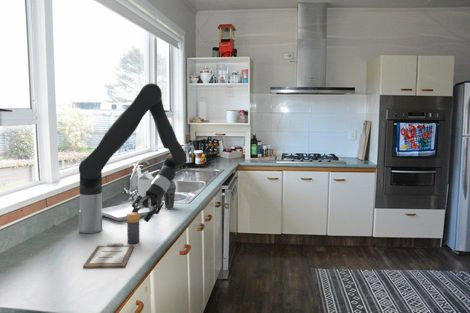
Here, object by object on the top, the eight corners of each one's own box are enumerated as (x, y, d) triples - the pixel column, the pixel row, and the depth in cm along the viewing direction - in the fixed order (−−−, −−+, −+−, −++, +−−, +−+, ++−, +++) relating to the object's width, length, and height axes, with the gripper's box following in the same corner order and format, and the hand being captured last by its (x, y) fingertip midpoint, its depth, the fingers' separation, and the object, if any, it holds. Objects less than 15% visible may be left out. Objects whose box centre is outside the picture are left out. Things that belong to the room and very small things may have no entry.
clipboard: (83, 268, 132) (82, 263, 132) (97, 247, 152) (97, 243, 152) (124, 267, 133) (124, 262, 133) (133, 247, 153) (133, 242, 153)
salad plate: (129, 208, 213) (129, 202, 213) (153, 216, 200) (153, 209, 200) (94, 216, 197) (94, 209, 196) (118, 224, 184) (118, 217, 183)
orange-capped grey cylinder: (126, 244, 156) (126, 215, 155) (128, 240, 161) (128, 212, 160) (138, 244, 157) (138, 215, 156) (140, 240, 162) (140, 212, 160)
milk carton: (153, 202, 227) (153, 170, 225) (150, 205, 220) (150, 172, 218) (142, 202, 228) (142, 170, 225) (138, 204, 221) (137, 172, 218)
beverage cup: (159, 208, 214) (160, 173, 212) (168, 205, 220) (168, 171, 218) (170, 210, 211) (170, 174, 208) (178, 207, 217) (178, 172, 215)
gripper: (142, 180, 170) (121, 211, 162) (165, 185, 162) (145, 217, 154) (151, 190, 175) (131, 220, 167) (174, 195, 167) (155, 227, 159)
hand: (138, 219), depth 160 cm, fingers open, 8 cm apart
